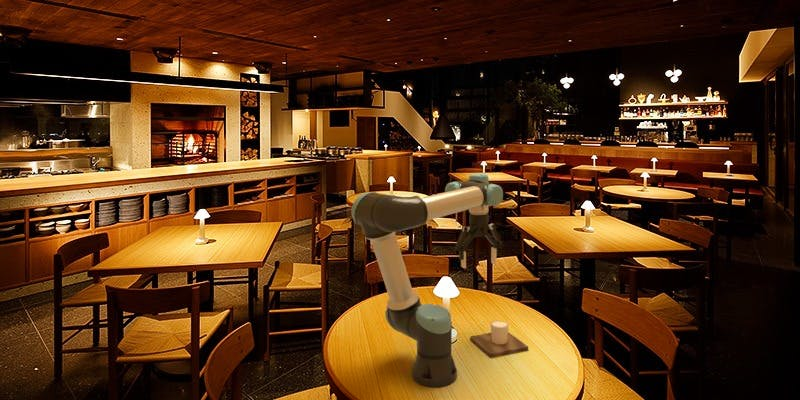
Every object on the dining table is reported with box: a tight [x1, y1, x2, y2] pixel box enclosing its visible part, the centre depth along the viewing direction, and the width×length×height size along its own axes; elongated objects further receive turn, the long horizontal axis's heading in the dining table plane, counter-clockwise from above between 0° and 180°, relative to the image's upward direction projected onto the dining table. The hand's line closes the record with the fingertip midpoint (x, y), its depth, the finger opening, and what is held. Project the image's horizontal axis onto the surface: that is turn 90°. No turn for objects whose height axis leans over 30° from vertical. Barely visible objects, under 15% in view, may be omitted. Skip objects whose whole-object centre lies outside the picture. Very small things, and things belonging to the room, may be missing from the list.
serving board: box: [469, 331, 529, 359], centre depth 180 cm, size 16×16×2 cm
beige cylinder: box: [489, 320, 509, 344], centre depth 180 cm, size 7×7×7 cm
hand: (478, 265), depth 187 cm, fingers open, 13 cm apart
